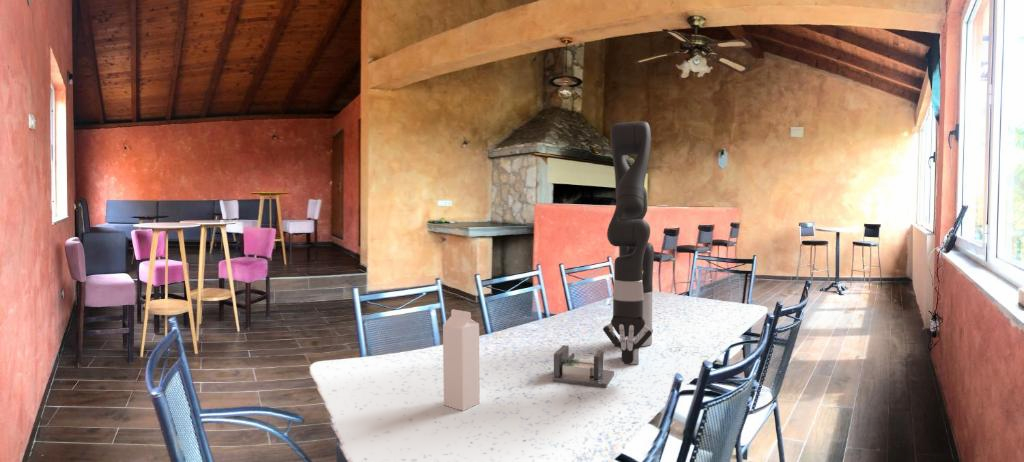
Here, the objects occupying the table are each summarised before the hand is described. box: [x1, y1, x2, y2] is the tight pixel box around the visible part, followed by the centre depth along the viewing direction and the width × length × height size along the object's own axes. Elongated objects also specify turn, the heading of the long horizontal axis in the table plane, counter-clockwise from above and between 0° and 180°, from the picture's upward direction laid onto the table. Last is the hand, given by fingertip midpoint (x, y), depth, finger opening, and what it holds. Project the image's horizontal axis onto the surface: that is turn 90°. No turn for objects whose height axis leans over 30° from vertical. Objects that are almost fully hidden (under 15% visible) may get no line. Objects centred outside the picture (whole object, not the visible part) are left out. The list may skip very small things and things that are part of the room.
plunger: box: [566, 350, 604, 379], centre depth 142 cm, size 6×9×6 cm, turn 68°
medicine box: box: [623, 335, 640, 365], centre depth 158 cm, size 8×4×9 cm, turn 168°
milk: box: [442, 309, 481, 412], centre depth 124 cm, size 6×6×22 cm
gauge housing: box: [552, 344, 615, 389], centre depth 142 cm, size 11×14×7 cm
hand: (627, 363), depth 138 cm, fingers closed
